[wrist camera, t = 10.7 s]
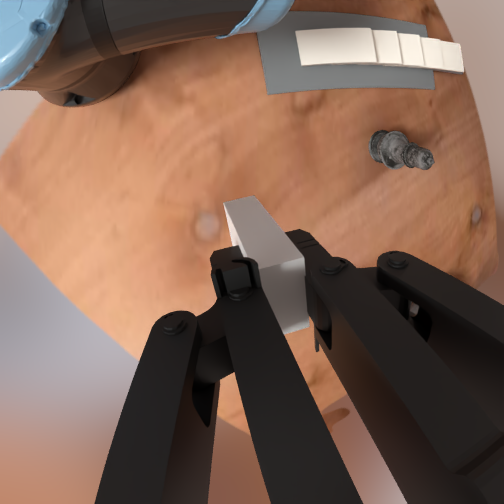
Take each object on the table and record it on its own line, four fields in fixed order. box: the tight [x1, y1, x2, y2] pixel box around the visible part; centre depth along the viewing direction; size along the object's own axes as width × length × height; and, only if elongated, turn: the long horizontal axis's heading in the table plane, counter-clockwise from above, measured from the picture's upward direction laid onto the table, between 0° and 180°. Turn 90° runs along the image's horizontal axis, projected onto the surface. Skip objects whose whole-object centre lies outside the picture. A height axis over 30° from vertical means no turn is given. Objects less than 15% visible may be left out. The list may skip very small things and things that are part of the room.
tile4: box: [383, 37, 444, 69], centre depth 33 cm, size 2×5×10 cm
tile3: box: [358, 33, 424, 67], centre depth 33 cm, size 2×5×10 cm
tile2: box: [331, 30, 402, 65], centre depth 32 cm, size 2×5×10 cm
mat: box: [256, 11, 435, 95], centre depth 35 cm, size 30×12×1 cm, turn 99°
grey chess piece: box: [369, 130, 435, 170], centre depth 37 cm, size 6×6×12 cm
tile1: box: [295, 28, 377, 66], centre depth 32 cm, size 2×5×10 cm
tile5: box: [409, 41, 464, 72], centre depth 34 cm, size 2×5×10 cm
